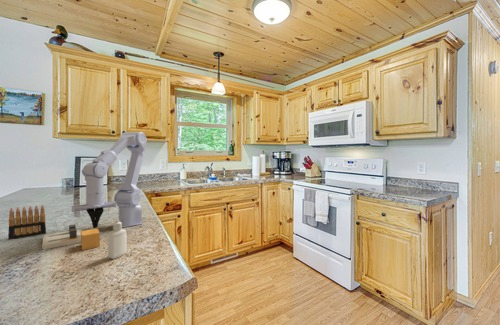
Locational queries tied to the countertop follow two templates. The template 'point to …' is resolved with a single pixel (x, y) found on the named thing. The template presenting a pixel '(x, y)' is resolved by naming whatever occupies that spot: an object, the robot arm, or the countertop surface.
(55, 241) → the panel
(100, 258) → the countertop surface
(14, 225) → the ammunition clip
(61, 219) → the countertop surface
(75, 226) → the block
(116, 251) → the eye dropper bottle
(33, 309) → the countertop surface
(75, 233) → the block
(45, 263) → the countertop surface
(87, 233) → the cap
